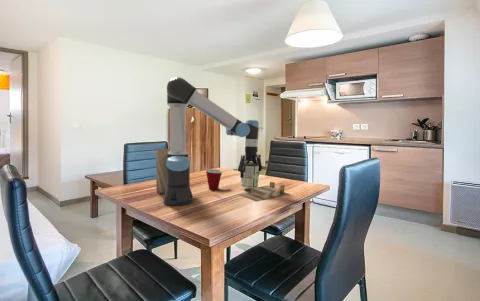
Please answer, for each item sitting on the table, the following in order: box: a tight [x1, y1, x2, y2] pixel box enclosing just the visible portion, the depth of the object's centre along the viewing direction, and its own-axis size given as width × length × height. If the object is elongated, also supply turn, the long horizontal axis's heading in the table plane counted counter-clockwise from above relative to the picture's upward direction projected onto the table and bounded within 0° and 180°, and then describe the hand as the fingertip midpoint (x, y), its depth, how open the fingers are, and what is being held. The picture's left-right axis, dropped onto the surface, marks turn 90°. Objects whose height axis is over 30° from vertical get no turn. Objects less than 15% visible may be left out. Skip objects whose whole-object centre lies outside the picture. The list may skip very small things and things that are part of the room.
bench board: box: [238, 181, 291, 203], centre depth 154 cm, size 26×16×6 cm, turn 127°
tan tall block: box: [155, 148, 170, 194], centre depth 164 cm, size 10×10×25 cm
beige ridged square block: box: [250, 185, 280, 198], centre depth 154 cm, size 12×12×3 cm
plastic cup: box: [205, 168, 223, 191], centre depth 170 cm, size 11×11×12 cm
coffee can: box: [240, 161, 260, 189], centre depth 165 cm, size 10×10×14 cm
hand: (249, 182), depth 165 cm, fingers closed on coffee can, 10 cm apart
